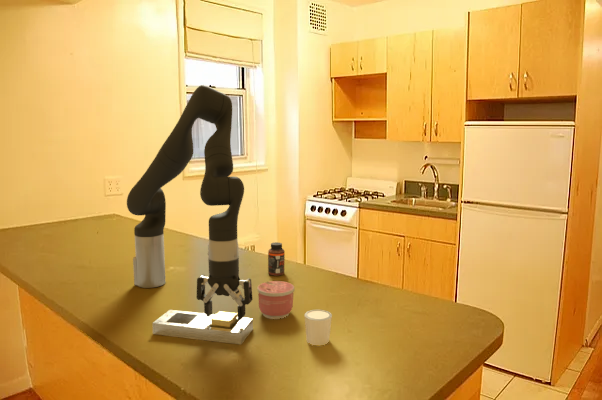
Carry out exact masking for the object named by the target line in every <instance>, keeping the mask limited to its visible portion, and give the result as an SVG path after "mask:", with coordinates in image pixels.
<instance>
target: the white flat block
mask: <svg viewBox="0 0 602 400" xmlns="http://www.w3.org/2000/svg"><path fill="white" fill-rule="evenodd" d="M216 314H217V313H215V314H214V313H212V315H211V316H210V317H207V316H206V314H205V312H195V311H187V310H175V309H174V310H173V309H168V310H167V311H166V312H165V313H164V314H162V315H161V316H160V317H158V318H157V319H155V320H154V321H153V322H152V324H151V325H152V326H151V327H152V334H153V335H157V336H158V335H160V336H166V337H167V336H168V337H175V338H176V337H177V338H183V339H193V340H201V341H210V342H216V343H217V342H218V343H226V344H235V345H242V344H243V343H244V341H245V340H246V338H247V337H248V336H249V335H250V333H251V332H252V331H253V330H254V318H250V317H245V316H244V317H243V318H242V319H241V320H238V316H237V324H236V325H235V326H234V327H233V328H232V329H225V328H216V327H211V319H212V318H213V317H214V316H215V315H216Z"/></svg>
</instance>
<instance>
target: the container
mask: <svg viewBox="0 0 602 400" xmlns="http://www.w3.org/2000/svg"><path fill="white" fill-rule="evenodd" d="M256 288H257V289H256V290H257V292H258V293H257V294H258V296H257V297H258V308H259V310H260V312H261V313H262V316H263V317H265V318H267V319H270V320H273V319H274V320H280V318H281V319H284V317H285V318H287V317H289V314H290V313H291V312H292V310H293V306H294V292H295V285H294V284H292V283H290V282H287V281H281V280H274V281H273V280H272V281H266V282H262V283H260V284H258V286H257V287H256ZM286 316H287V317H286Z"/></svg>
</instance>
